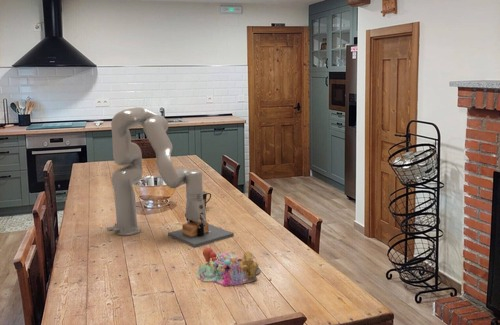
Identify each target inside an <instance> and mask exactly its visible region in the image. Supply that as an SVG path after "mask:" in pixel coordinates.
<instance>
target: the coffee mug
mask: <svg viewBox="0 0 500 325" xmlns="http://www.w3.org/2000/svg"><path fill="white" fill-rule="evenodd" d="M208 195H209V197H208V199H207V196H208ZM211 198H212V194H211V193H210V192H207V191H206V190H205V191H204V190H203V200H204V204H205V211H206V209H207V203H208V202H209V201H210V200H211Z"/></svg>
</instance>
